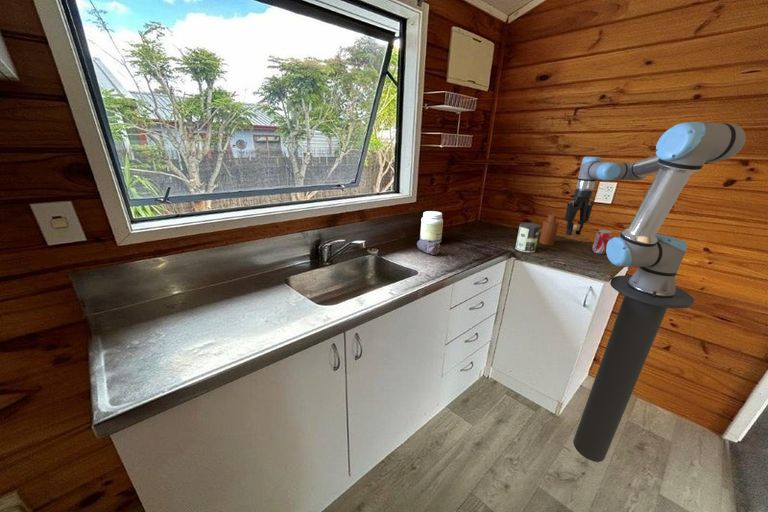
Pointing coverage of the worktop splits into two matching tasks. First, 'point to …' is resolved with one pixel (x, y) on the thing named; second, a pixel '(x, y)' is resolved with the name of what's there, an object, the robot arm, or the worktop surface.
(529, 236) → the coffee can
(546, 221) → the bottle
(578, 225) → the stopper
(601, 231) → the soda can
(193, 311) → the worktop surface
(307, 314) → the worktop surface
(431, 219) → the supplement tub
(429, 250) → the perforated stone tool
